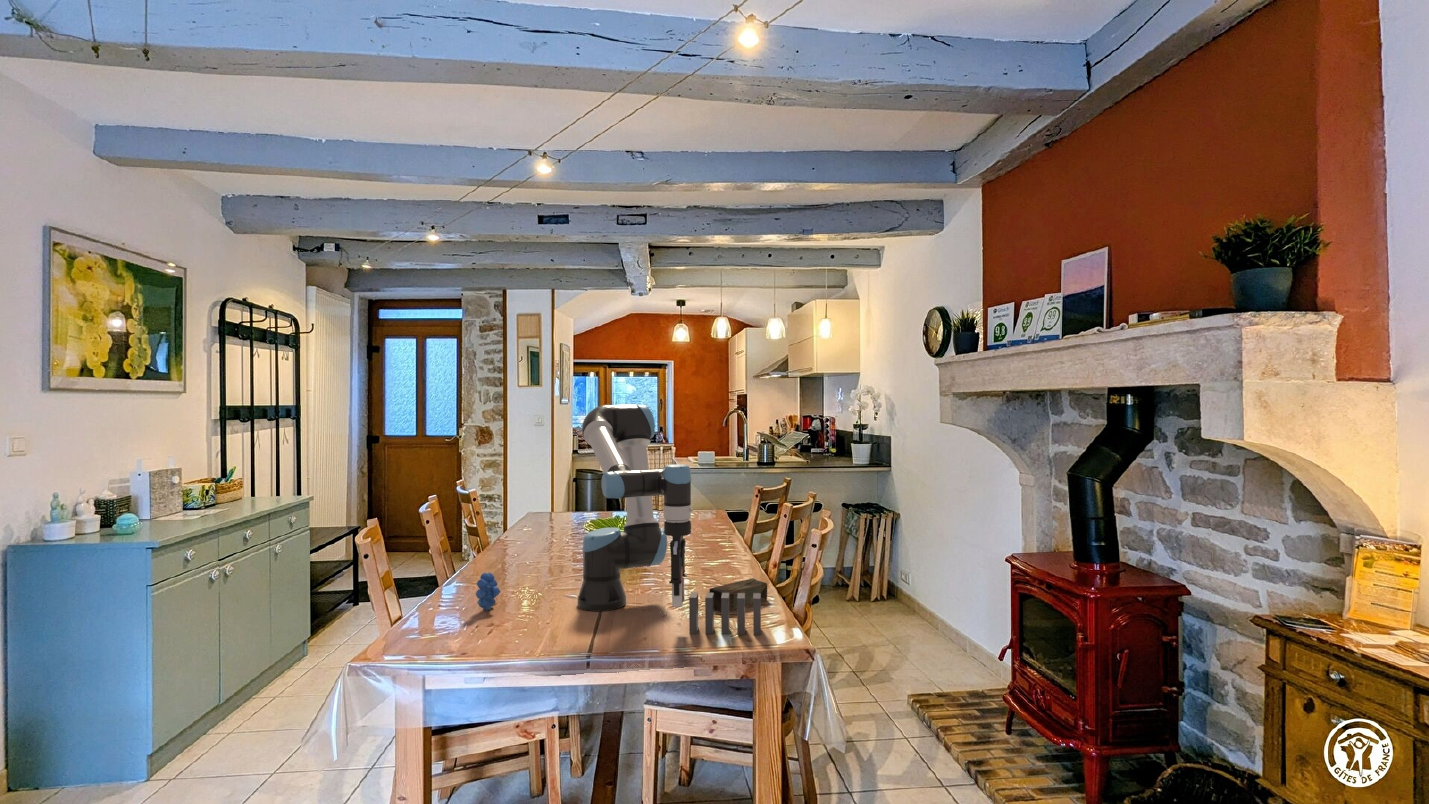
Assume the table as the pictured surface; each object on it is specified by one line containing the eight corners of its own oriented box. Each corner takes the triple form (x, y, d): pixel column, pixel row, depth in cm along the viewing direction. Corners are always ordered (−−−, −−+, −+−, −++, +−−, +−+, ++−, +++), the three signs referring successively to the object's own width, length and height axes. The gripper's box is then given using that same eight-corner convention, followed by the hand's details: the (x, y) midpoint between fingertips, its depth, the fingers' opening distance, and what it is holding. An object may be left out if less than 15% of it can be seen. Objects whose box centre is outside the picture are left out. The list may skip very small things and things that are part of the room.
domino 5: (753, 634, 188) (753, 598, 188) (753, 628, 193) (753, 593, 193) (760, 635, 187) (760, 598, 187) (760, 628, 192) (760, 593, 192)
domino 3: (721, 634, 188) (721, 598, 188) (722, 628, 193) (722, 592, 193) (728, 634, 188) (728, 598, 188) (729, 628, 193) (729, 592, 193)
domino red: (673, 607, 189) (673, 570, 189) (675, 601, 194) (675, 566, 194) (680, 607, 189) (680, 570, 189) (682, 601, 194) (682, 566, 194)
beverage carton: (768, 601, 219) (768, 580, 219) (725, 614, 206) (725, 592, 206) (751, 596, 225) (750, 576, 225) (707, 608, 212) (707, 587, 212)
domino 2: (705, 634, 189) (705, 597, 188) (706, 627, 194) (706, 592, 193) (712, 634, 188) (712, 597, 188) (713, 628, 193) (713, 592, 193)
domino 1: (689, 633, 189) (689, 597, 189) (691, 627, 194) (691, 592, 194) (696, 633, 189) (696, 597, 189) (698, 627, 194) (698, 592, 194)
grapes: (492, 617, 204) (491, 576, 204) (470, 616, 205) (470, 576, 205) (508, 605, 216) (508, 567, 216) (487, 604, 217) (487, 566, 217)
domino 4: (737, 634, 188) (737, 598, 188) (737, 628, 193) (737, 593, 193) (744, 634, 188) (744, 598, 188) (745, 628, 193) (744, 593, 193)
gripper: (687, 526, 182) (688, 613, 182) (694, 515, 200) (694, 594, 200) (659, 525, 183) (660, 613, 183) (668, 514, 201) (669, 594, 201)
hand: (678, 603), depth 191 cm, fingers closed on domino red, 5 cm apart
